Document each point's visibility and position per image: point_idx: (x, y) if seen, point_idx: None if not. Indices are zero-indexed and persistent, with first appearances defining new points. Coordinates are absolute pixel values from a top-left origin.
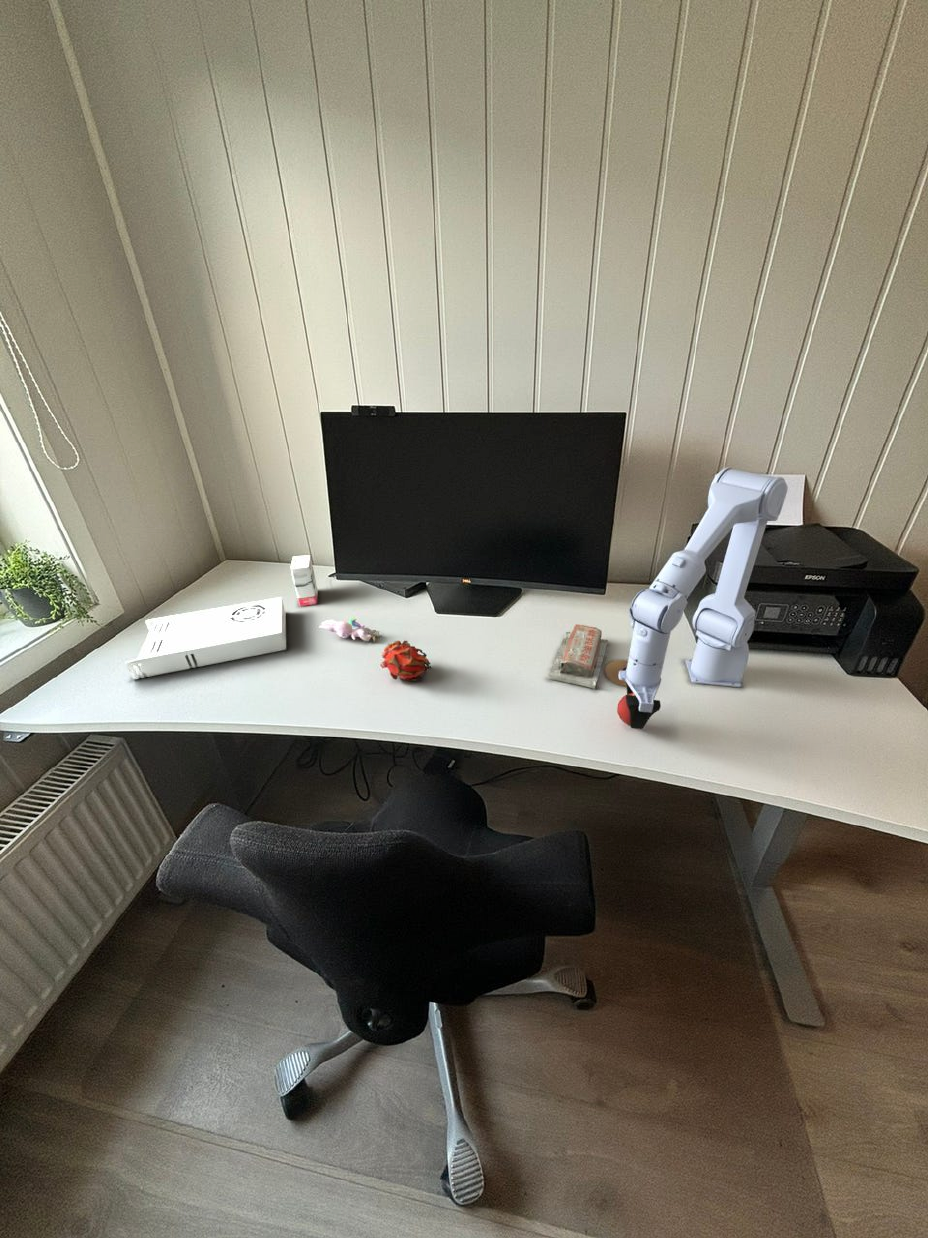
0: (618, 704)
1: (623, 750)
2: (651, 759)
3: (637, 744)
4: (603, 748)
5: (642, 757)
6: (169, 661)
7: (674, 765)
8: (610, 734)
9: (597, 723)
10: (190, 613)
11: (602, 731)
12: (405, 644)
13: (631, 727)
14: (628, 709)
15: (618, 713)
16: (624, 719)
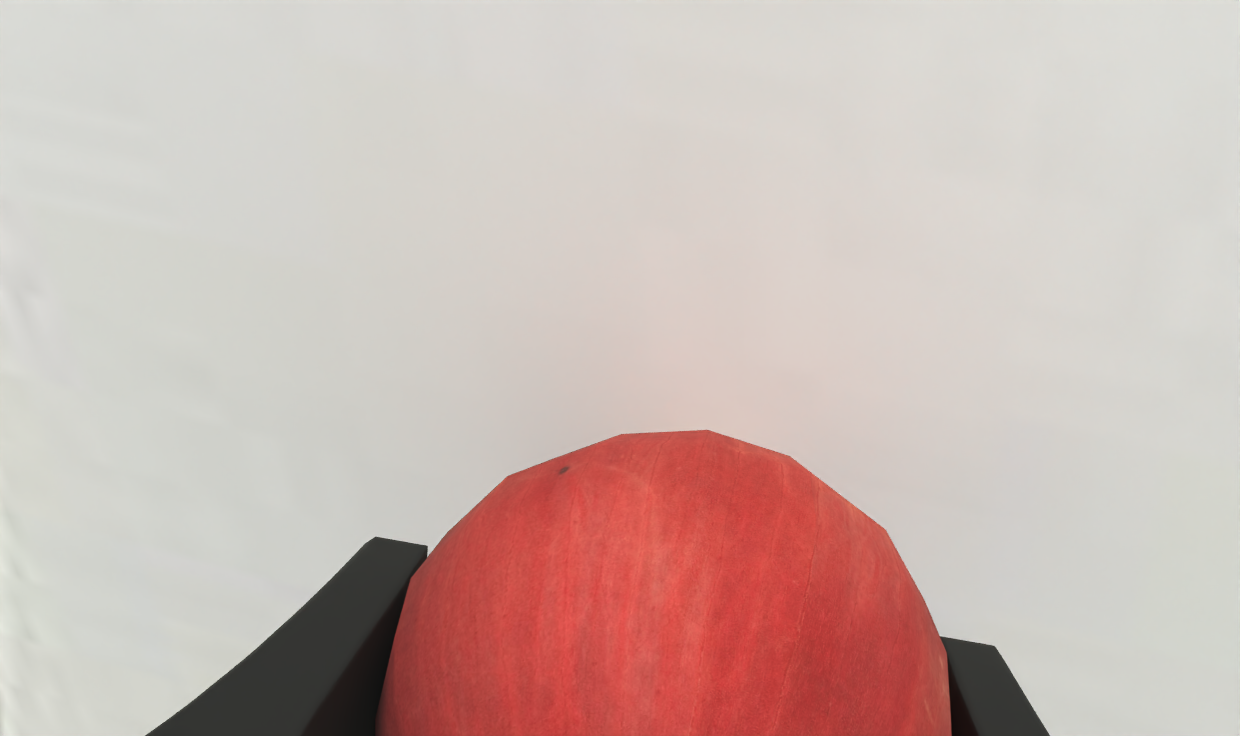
0: (740, 549)
1: (199, 295)
2: (133, 557)
3: (346, 482)
4: (169, 21)
5: (137, 479)
6: None
7: (111, 725)
8: (489, 188)
9: (736, 25)
10: None
11: (545, 76)
12: None
13: (358, 551)
14: (447, 709)
15: (620, 460)
16: (475, 513)
